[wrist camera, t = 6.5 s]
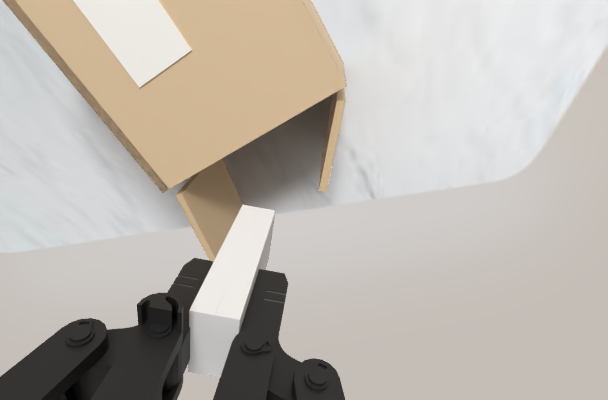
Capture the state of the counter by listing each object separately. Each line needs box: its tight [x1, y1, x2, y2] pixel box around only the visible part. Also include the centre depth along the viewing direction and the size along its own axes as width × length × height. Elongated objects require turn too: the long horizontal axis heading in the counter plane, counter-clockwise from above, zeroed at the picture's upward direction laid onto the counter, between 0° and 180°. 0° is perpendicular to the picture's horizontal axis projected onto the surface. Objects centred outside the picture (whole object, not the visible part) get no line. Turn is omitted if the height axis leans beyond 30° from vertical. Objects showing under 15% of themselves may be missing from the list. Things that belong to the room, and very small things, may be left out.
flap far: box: [176, 158, 243, 261], centre depth 30 cm, size 1×6×9 cm, turn 18°
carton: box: [3, 0, 347, 193], centre depth 24 cm, size 16×14×10 cm
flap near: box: [319, 88, 345, 192], centre depth 27 cm, size 1×6×9 cm, turn 172°
